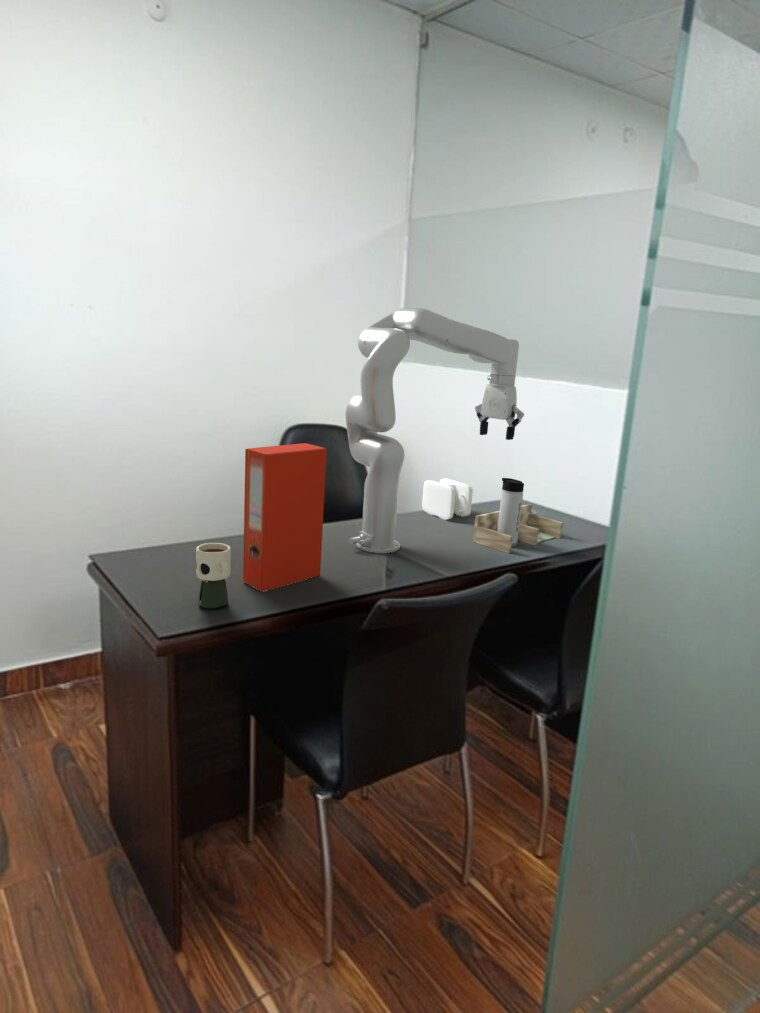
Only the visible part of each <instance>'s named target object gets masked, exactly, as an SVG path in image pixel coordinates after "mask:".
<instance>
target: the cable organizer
mask: <svg viewBox="0 0 760 1013" xmlns="http://www.w3.org/2000/svg"><path fill="white" fill-rule="evenodd" d="M422 490H423V491H422V499H421V500H422V502H421V508H422V510H423V511H424V512H425V513H426V514H427V515H431V516H435V517H438V518H439V519H440V520H442V521H443V520H444V521H448V520H450V519H452V518H453V517H454V514H455V515H456V516H457V517H458V516H459V517H460V516H461V517H460V518H465V517H467V516H469V515H471V512H472V503H473V502H472V501H473V487H472V486H471V485H470V484H469V483H465V482H461V481H458V480H455V479H451V478H447V477H446V478H445V477H444V478H441V479H439V482H438V481H436V480H432V479H427V480H425V481H424V482H423V487H422Z"/></svg>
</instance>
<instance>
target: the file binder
mask: <svg viewBox="0 0 760 1013" xmlns="http://www.w3.org/2000/svg"><path fill="white" fill-rule="evenodd" d="M244 452H245V453H244V454H245V455H244V459H245V461H244V462H245V463H244V503H243V504H244V507H243V508H244V509H243V511H244V513H243V556H242V557H243V558H242V559H243V563H242V564H243V566H242V567H243V568H242V571H243V572H242V582H243V581H244V582H246V583H248V584H250V585H251V586H254V587H255V588H257V589H259V590H262V591H265V590H270V589H273V588H277V587H280V588H282V587H281V586H284V585H287V584H291V583H294V584H296V583H295V582H298V581H301V580H305V579H308V578H311V577H315V576H318V575H320V576H321V572H322V571H321V567H322V551H323V550H322V546H323V527H324V509H325V508H324V506H325V505H324V504H325V490H326V489H325V487H326V484H325V483H326V468H327V467H326V466H327V448H326V447H322V446H318V445H315V444H310V443H307V442H304V443H294V444H293V443H292V444H281V445H280V444H279V445H270V446H261V447H251V448H245V451H244ZM305 581H306V580H305ZM244 582H243V583H244ZM298 583H299V582H298ZM291 585H292V584H291ZM251 586H250V587H251ZM287 586H288V585H287ZM284 587H285V586H284ZM255 588H254V589H255ZM257 589H256V590H257ZM277 589H278V588H277ZM259 590H258V591H259ZM273 590H274V589H273ZM270 591H271V590H270Z"/></svg>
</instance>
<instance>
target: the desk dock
mask: <svg viewBox="0 0 760 1013" xmlns="http://www.w3.org/2000/svg"><path fill="white" fill-rule="evenodd" d="M532 507H533V504H531V503H528V504H522V508H521V516H520V524H519V533H518V541H519V540H520V542H522V543H525V544H526V543H527V544H530V545H532V546H537V545H538V543H542V541H543V542H545V541H549V540H552V539H556V538H557V539H561V538H562V534H563V528H564V522H563V521H559V520H556V519H552V518H549V517H546V516H543V515H542V516H541V515H538V514H534V513H532V511H533V510H532ZM499 511H500V510H496V511H492V512H487V513H481V514H477V515H475V517H474V518H475V519H474V525H473V526H474V527H473V535H472V536H473V537H472V542H474V543H475V544H479V545H481V546H486V547H488V548H490V549H494V550H497V551H500V552H503V553H506V554H511V551H512V547H511V544H512V536H510V535H507V534H504V533H501V532H497V529H498V520H499Z"/></svg>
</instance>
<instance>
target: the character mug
mask: <svg viewBox="0 0 760 1013" xmlns="http://www.w3.org/2000/svg"><path fill="white" fill-rule="evenodd" d="M231 552H232V548H231V546H230V545H229V544H226V543H221V542H206V543H201V544H200V545H198V546H196V548H195V560H196V570H195V573H196V578H198V579H200V580H201V582H200V588H199V591H198V592H199V593H198V605H200V607H202V608H205V609H217V608H219V607H223V606H225V605H227V604H229V596H228V595H229V594H228V588H227V581H226V579H227V578H230V575H231V571H232V570H231V565H232V564H231V562H232V561H231V560H232V558H231V557H232V556H231V555H232V554H231ZM200 601H201V603H200Z"/></svg>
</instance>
